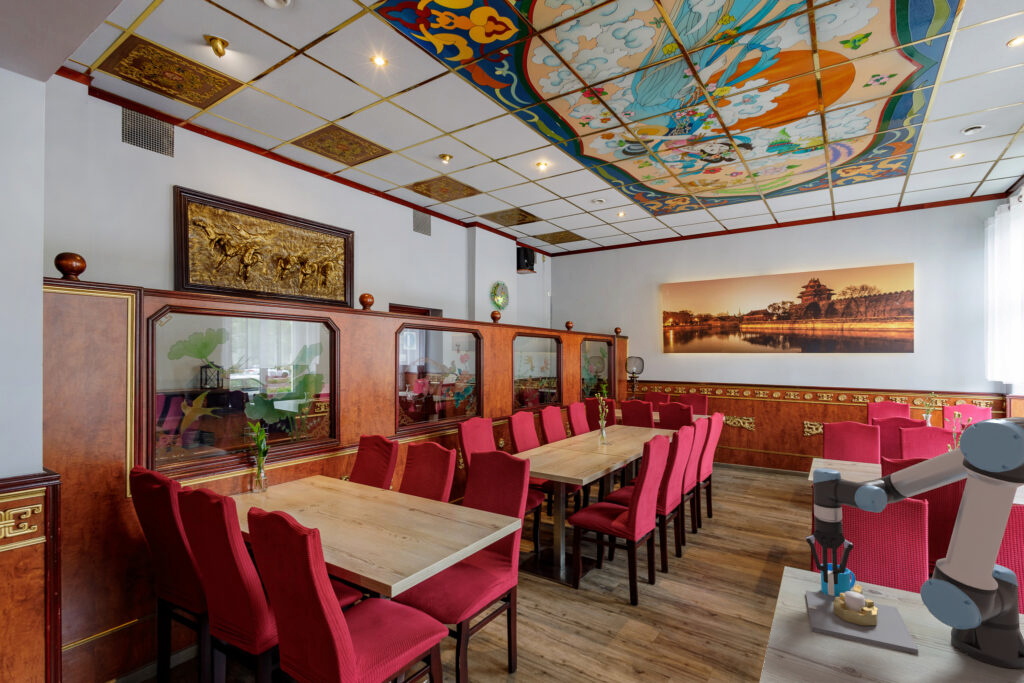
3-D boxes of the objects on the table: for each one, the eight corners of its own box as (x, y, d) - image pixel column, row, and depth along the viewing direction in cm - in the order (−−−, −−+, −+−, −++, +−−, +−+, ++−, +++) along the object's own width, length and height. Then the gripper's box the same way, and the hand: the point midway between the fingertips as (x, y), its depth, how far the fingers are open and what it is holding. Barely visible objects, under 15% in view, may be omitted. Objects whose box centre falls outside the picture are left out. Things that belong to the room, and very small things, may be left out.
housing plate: (896, 611, 148) (895, 586, 148) (918, 654, 127) (917, 625, 127) (805, 594, 159) (805, 571, 159) (811, 631, 138) (810, 604, 138)
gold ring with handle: (875, 629, 136) (874, 609, 136) (831, 616, 143) (831, 598, 143) (880, 608, 147) (879, 590, 147) (839, 597, 154) (838, 580, 154)
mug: (836, 600, 155) (835, 575, 155) (815, 589, 163) (814, 564, 163) (866, 596, 157) (865, 571, 158) (844, 584, 165) (843, 560, 166)
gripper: (851, 517, 154) (854, 592, 153) (803, 512, 160) (806, 583, 159) (854, 525, 147) (857, 603, 146) (805, 518, 153) (807, 593, 152)
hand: (831, 593), depth 153 cm, fingers closed
